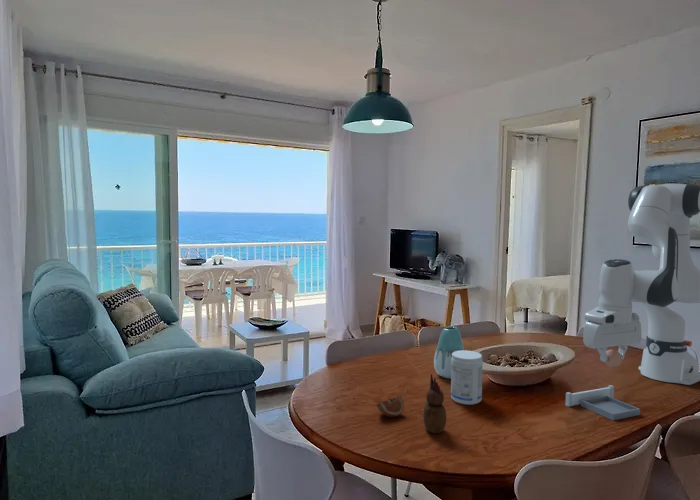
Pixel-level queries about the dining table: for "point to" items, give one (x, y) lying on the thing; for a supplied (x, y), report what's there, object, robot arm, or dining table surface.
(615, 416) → the dish
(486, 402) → the dining table surface
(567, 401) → the wall
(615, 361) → the ball
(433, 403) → the wooden figurine
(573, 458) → the dining table surface
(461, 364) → the supplement tub
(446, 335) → the vase
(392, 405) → the fruit slice
